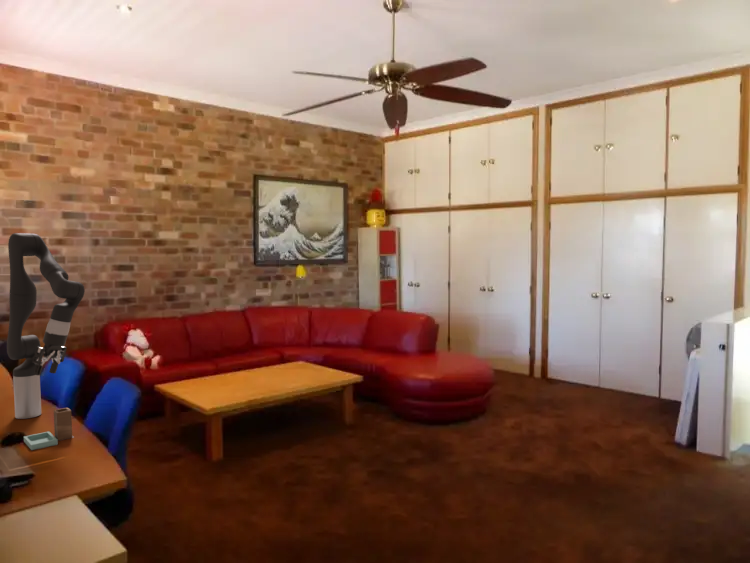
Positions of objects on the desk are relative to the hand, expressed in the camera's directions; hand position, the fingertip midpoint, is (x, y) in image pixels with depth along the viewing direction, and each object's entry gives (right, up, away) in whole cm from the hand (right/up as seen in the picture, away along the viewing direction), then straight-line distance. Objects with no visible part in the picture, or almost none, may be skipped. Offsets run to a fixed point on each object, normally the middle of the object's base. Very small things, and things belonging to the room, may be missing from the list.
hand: (44, 373), depth 209 cm
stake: (+11, -22, -7) cm, 26 cm away
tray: (+6, -23, -13) cm, 27 cm away
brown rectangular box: (+11, -22, -7) cm, 25 cm away
